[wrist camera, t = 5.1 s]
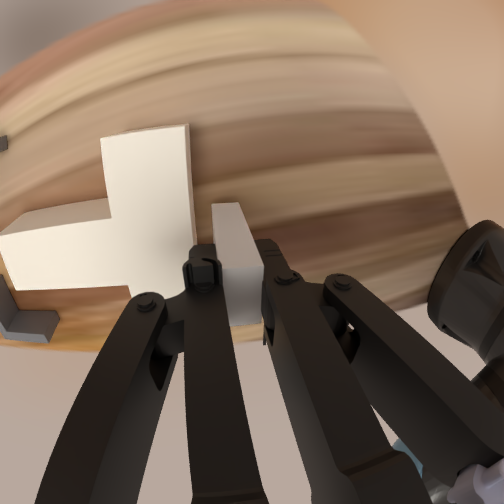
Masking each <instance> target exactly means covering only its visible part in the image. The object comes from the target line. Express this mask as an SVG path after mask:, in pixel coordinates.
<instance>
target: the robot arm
mask: <svg viewBox="0 0 504 504" xmlns="http://www.w3.org/2000/svg"><path fill="white" fill-rule="evenodd" d="M211 207H212V227H213V244H202V245H193V247H192V248H191V249H190V250H189V260H187V261H186V262H185V263H184V264H183V266H182V271H183V278H184V284H185V290H184V291H183V292H181V293H180V294H178V295H176V296H174V297H171V298H168V299H164V297H163V296H162V295H160V294H159V293H156V292H144V293H140V294H138V295H136V296H134V297H133V298H132V299H131V300H130V301H129V302H128V304H127V306H126V307H125V309H124V311H123V312H122V314H121V316H120V317H119V319H118V321H117V322H116V324H115V326H114V328H113V329H112V331H111V333H110V334H109V336H108V338H107V340H106V342H105V343H104V345H103V347H102V349H101V351H100V352H99V354H98V356H97V358H96V360H95V362H94V364H93V365H92V367H91V369H90V371H89V373H88V375H87V377H86V379H85V381H84V383H83V385H82V387H81V389H80V391H79V393H78V395H77V397H76V399H75V401H74V404H73V406H72V408H71V410H70V412H69V414H68V416H67V418H66V421H65V423H64V425H63V428H62V430H61V432H60V434H59V437H58V439H57V442H56V444H55V447H54V449H53V452H52V454H51V457H50V459H49V462H48V465H47V467H46V471H45V473H44V476H43V479H42V481H41V484H40V488H39V491H38V494H37V498H36V500H35V504H137V500H138V495H139V491H140V487H141V483H142V479H143V475H144V472H145V468H146V464H147V460H148V456H149V453H150V449H151V445H152V442H153V438H154V435H155V431H156V428H157V424H158V420H159V417H160V414H161V410H162V407H163V404H164V400H165V397H166V394H167V390H168V387H169V384H170V380H171V377H172V374H173V371H174V368H175V364H176V361H177V358H178V353H181V352H184V379H185V406H186V425H187V439H188V452H189V463H190V473H191V482H192V492H193V498H192V502H191V504H269V502H268V499H267V497H266V494H265V492H264V489H263V486H262V482H261V478H260V475H259V470H258V466H257V461H256V457H255V452H254V448H253V443H252V439H251V434H250V429H249V425H248V420H247V415H246V410H245V405H244V401H243V395H242V390H241V385H240V380H239V375H238V369H237V364H236V359H235V353H234V347H233V342H232V336H231V330H230V326H240V325H249V324H258V323H261V319H262V316H263V320H264V334H263V345H266V341H267V345H268V348H269V352H270V355H271V358H272V361H273V365H274V369H275V372H276V375H277V379H278V382H279V385H280V389H281V392H282V395H283V399H284V402H285V405H286V409H287V412H288V415H289V418H290V422H291V425H292V428H293V432H294V435H295V438H296V442H297V445H298V448H299V451H300V454H301V457H302V461H303V464H304V467H305V471H306V474H307V477H308V480H309V483H310V487H311V492H312V494H311V501H312V504H504V228H502V227H501V226H499V225H498V224H496V223H495V222H493V221H491V220H484V221H481V222H479V223H477V224H475V225H474V226H473V227H471V228H470V229H469V230H468V231H467V232H466V233H465V234H464V235H463V236H462V237H461V238H460V240H459V241H458V242H457V243H456V245H455V246H454V247H453V249H452V250H451V252H450V253H449V255H448V256H447V258H446V259H445V261H444V263H443V264H442V266H441V268H440V270H439V272H438V274H437V276H436V278H435V280H434V283H433V285H432V288H431V291H430V295H429V299H428V306H427V312H428V315H429V318H430V319H431V320H432V322H433V323H434V324H435V325H436V326H437V327H438V329H439V330H440V331H442V332H444V333H446V334H447V335H449V336H451V337H453V338H454V339H456V340H458V341H460V342H462V343H463V344H465V345H467V346H469V347H471V348H472V349H474V350H475V351H476V352H477V353H478V354H479V356H480V357H481V358H482V359H483V361H484V362H485V364H486V366H485V367H484V368H483V369H482V370H481V371H480V372H479V373H478V374H477V375H476V376H475V377H474V378H473V379H472V380H471V381H470V380H469V379H468V378H466V376H464V375H463V374H462V373H461V372H460V371H459V370H458V369H457V368H456V367H455V366H454V365H453V364H452V363H451V362H450V361H449V360H448V359H446V358H445V357H444V356H443V355H442V354H441V353H440V352H439V351H438V350H437V349H436V348H435V347H433V346H432V345H431V344H430V343H429V342H428V341H427V340H425V339H424V338H423V337H422V336H421V335H420V334H419V333H418V332H416V330H414V329H413V328H412V327H411V326H410V325H409V324H408V323H407V322H405V321H404V320H403V319H402V318H401V317H400V316H398V315H397V314H396V313H395V312H394V311H393V310H392V309H390V308H389V307H388V306H387V305H386V304H385V303H383V302H382V301H381V300H380V299H379V298H377V297H376V296H375V295H374V294H373V293H371V292H370V291H369V290H368V289H367V288H365V287H364V286H363V285H362V284H361V283H359V282H358V281H357V280H356V279H354V278H353V277H351V276H348V275H345V274H331V275H329V276H327V278H326V279H325V282H324V284H317V283H309V282H305V281H304V279H303V277H302V276H301V275H300V274H299V273H297V272H296V271H294V270H290V268H289V266H288V264H287V262H286V260H285V258H284V257H283V256H282V253H281V251H280V249H279V247H278V245H277V244H276V243H275V242H273V241H272V240H270V239H260V240H253V237H252V235H251V232H250V230H249V227H248V225H247V222H246V220H245V217H244V215H243V212H242V210H241V207H240V205H239V202H235V203H218V204H211ZM349 323H350V324H351V325H352V326H353V327H354V330H352V329H351V328H350V327H349V326H348V325H349ZM370 404H371V405H372V406H373V408H374V409H375V410H376V411H377V413H378V414H379V415H380V416H381V417H382V418H383V420H384V421H385V422H386V423H387V424H388V425H389V427H390V428H391V429H392V430H393V431H394V432H395V434H396V435H397V436H398V437H399V439H397V441H396V442H395V443H394V445H393V446H391V445H390V443H389V442H388V440H387V437H386V435H385V433H384V431H383V429H382V427H381V425H380V423H379V421H378V419H377V417H376V415H375V413H374V411H373V409H372V407H371V405H370Z"/></svg>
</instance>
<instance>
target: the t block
mask: <svg viewBox="0 0 504 504" xmlns="http://www.w3.org/2000/svg"><path fill="white" fill-rule="evenodd" d="M100 141H101V151H102V160H103V168H104V175H105V182H106V188H107V195H108V198H102V199H95V200H89V201H83V202H77V203H71V204H65V205H60V206H55V207H49V208H44V209H39V210H35V211H30V212H25V213H23V214H22V215H21V216H20V217H18V218H17V219H16V220H15V221H13V222H12V223H11V224H10V225H9V226H7V227H6V228H5V229H4V230H3V231H1V232H0V252H1V255H2V257H3V260H4V263H5V265H6V268H7V270H8V273H9V275H10V277H11V280H12V282H13V284H14V287H15V289H16V290H40V289H64V288H85V287H104V286H121V285H128V286H129V290H130V293H131V296H132V298H133V297H134V296H136V295H138V294H140V293H144V292H156V293H159V294H160V295H162V296H163V297H164V299H168V298H171V297H174V296H176V295H178V294H180V293H181V292H183V291H184V290H185V284H184V278H183V271H182V266H183V264H184V263H185V262H186V261H187V260H189V250H190V249H191V248H192V247H193V245H197V235H196V224H195V213H194V200H193V187H192V171H191V154H190V131H189V124H178V125H169V126H160V127H152V128H145V129H138V130H131V131H125V132H121V133H117V134H114V135H110V136H107V137H104V138H100Z"/></svg>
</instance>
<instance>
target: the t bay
mask: <svg viewBox="0 0 504 504" xmlns="http://www.w3.org/2000/svg"><path fill="white" fill-rule="evenodd" d="M6 149H8V147H7V137H6V136H3V137H0V152H1V151H4V150H6ZM59 320H60V319H59V317H58V315H57V313H56V311H22V310H18V308H17V306H16V304H15V302H14V300H13V298H12V296H11V294H10V291H9V289H8V287H7V285H6V283H5V280H4V278H3V276H2V275H0V332H1V333H2V335H3V336H4V338H5V339H9V340H18V341H27V342H38V343H49V342H50V340H51V338H52V335H53V333H54V331H55V329H56V327H57V325H58V322H59Z"/></svg>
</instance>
